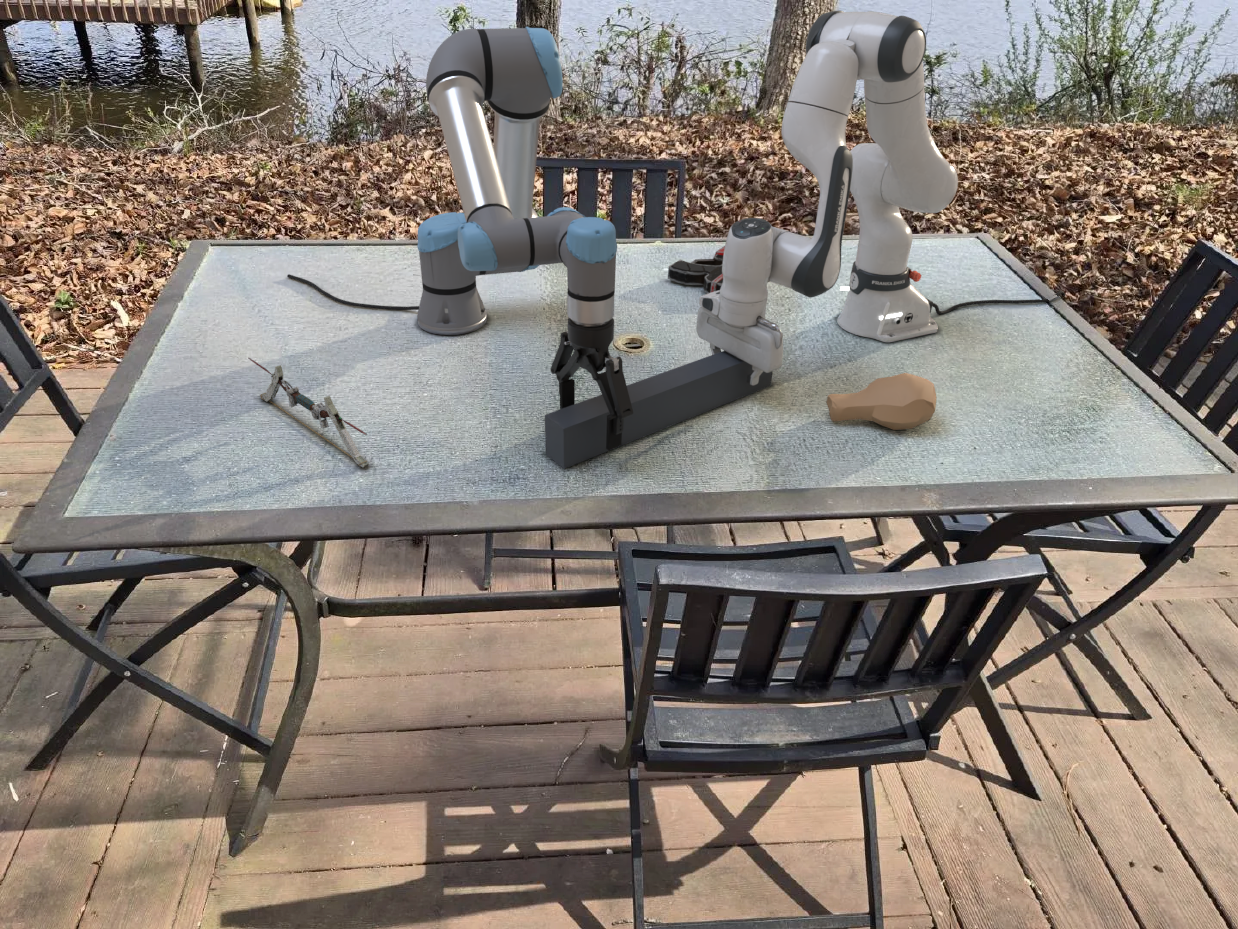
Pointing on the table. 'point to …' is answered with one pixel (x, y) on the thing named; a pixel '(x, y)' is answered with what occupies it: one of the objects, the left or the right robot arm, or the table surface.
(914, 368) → the table surface
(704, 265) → the gun
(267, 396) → the bow
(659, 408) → the beam
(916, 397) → the squash
